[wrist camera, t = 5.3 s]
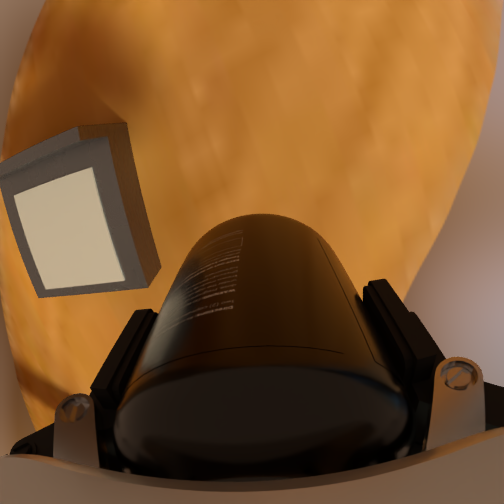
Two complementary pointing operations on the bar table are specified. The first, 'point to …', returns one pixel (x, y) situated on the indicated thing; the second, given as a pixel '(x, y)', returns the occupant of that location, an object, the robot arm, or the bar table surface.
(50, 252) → the shelf block
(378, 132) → the bar table surface
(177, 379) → the supplement bottle
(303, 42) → the bar table surface
